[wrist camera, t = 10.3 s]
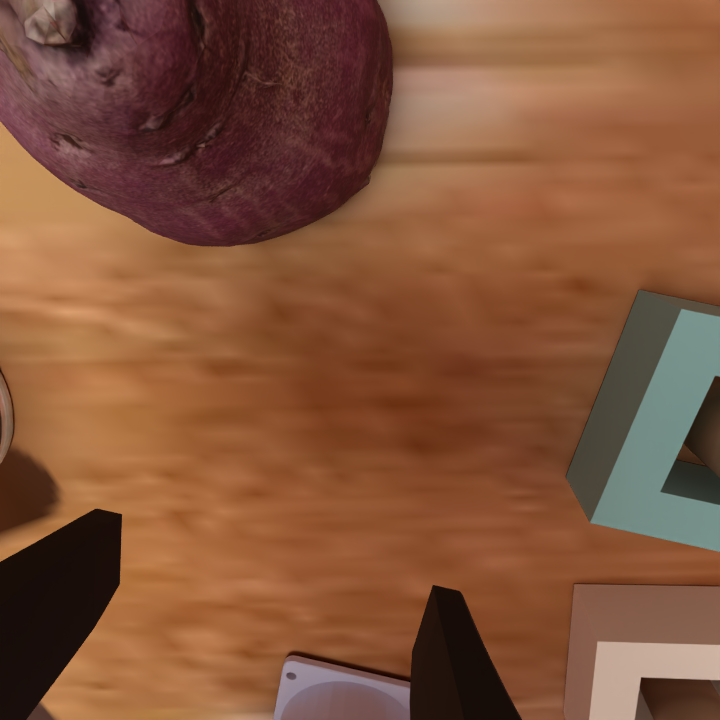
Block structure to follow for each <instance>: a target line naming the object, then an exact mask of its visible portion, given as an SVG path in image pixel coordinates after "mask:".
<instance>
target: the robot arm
mask: <svg viewBox="0 0 720 720" xmlns="http://www.w3.org/2000/svg"><path fill="white" fill-rule="evenodd" d="M121 527H122V514H118V513H114V512H110V511H105V510H101V509H94V510H93V511H91V512H89V513H87V514H85V515H83V516H81V517H80V518H78V519H76V520H74V521H73V522H71V523H69V524H67V525H66V526H64V527H62V528H60V529H59V530H57V531H55V532H53V533H52V534H50V535H48V536H46V537H44V538H43V539H41V540H39V541H37V542H36V543H34V544H32V545H30V546H28V547H26V548H25V549H23V550H21V551H19V552H17V553H16V554H14V555H12V556H10V557H8V558H6V559H5V560H3V561H1V562H0V720H26V719H27V718H28V717H29V715H30V714H31V712H32V711H33V710H34V709H35V707H36V706H37V705H38V703H39V702H40V701H41V699H42V698H43V696H44V695H45V694H46V692H47V691H48V690H49V688H50V687H51V686H52V684H53V683H54V682H55V680H56V679H57V678H58V676H59V675H60V674H61V672H62V671H63V670H64V668H65V667H66V666H67V664H68V663H69V662H70V660H71V659H72V658H73V656H74V655H75V653H76V652H77V651H78V649H79V648H80V647H81V645H82V644H83V643H84V641H85V640H86V638H87V637H88V636H89V634H90V633H91V632H92V630H93V629H94V627H95V626H96V624H97V622H98V621H99V619H100V617H101V616H102V614H103V612H104V611H105V609H106V607H107V605H108V604H109V602H110V600H111V598H112V597H113V595H114V593H115V591H116V590H117V588H118V586H119V584H120V559H121ZM273 720H522V719H521V717H520V715H519V714H518V712H517V710H516V708H515V706H514V704H513V702H512V700H511V699H510V697H509V695H508V693H507V691H506V689H505V687H504V685H503V683H502V681H501V679H500V677H499V675H498V673H497V671H496V669H495V667H494V665H493V663H492V661H491V659H490V657H489V654H488V652H487V650H486V648H485V646H484V644H483V641H482V639H481V637H480V635H479V633H478V630H477V628H476V626H475V623H474V621H473V619H472V616H471V614H470V612H469V609H468V607H467V605H466V602H465V600H464V597H463V595H462V594H461V592H460V591H457V590H453V589H448V588H444V587H439V586H435V585H433V586H432V590H431V593H430V596H429V599H428V602H427V606H426V609H425V612H424V615H423V618H422V622H421V625H420V628H419V631H418V635H417V638H416V641H415V644H414V647H413V651H412V663H411V680H410V682H407V681H402V680H398V679H394V678H390V677H385V676H381V675H377V674H372V673H368V672H364V671H360V670H355V669H351V668H347V667H342V666H338V665H334V664H330V663H325V662H321V661H317V660H312V659H308V658H304V657H300V656H294V655H292V656H288V657H287V658H286V659H285V661H284V665H283V670H282V675H281V680H280V685H279V691H278V696H277V701H276V706H275V712H274V717H273Z"/></svg>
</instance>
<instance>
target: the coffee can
mask: <svg viewBox="0 0 720 720" xmlns="http://www.w3.org/2000/svg"><path fill="white" fill-rule="evenodd" d="M13 426H14V424H13V409H12V403H11V398H10V395H9V391H8V389H7V386H6V383H5V381H4V378H3V376H2V374H1V372H0V464H1V462H2V461H3V459H4V457H5V456H6V454H7V451H8V449H9V446H10V443H11V439H12V435H13Z"/></svg>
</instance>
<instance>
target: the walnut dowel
mask: <svg viewBox="0 0 720 720" xmlns="http://www.w3.org/2000/svg"><path fill="white" fill-rule="evenodd" d="M639 689H640V691H641V693H642V695H643V697H644V700H645V702H646V704H647V706H648V708H649V711H650V713H651V715H652V717H653V719H654V720H720V696H719V694H718V693H717V691H716V689H715V688H714V686H713V684H712V683H711V681H710V680H702V679H674V678H647V677H641V681H640V688H639Z"/></svg>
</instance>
